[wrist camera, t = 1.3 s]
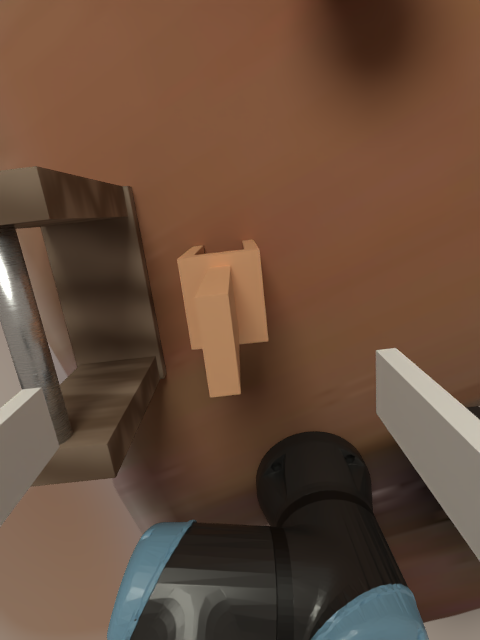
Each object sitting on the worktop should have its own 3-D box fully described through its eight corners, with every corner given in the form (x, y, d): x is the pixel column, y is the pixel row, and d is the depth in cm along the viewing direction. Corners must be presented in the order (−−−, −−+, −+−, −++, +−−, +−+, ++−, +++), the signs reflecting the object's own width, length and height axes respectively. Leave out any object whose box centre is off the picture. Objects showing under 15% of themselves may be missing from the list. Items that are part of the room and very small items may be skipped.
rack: (166, 373, 45) (122, 476, 27) (87, 381, 45) (-8, 490, 28) (131, 186, 39) (44, 165, 21) (39, 198, 39) (-122, 185, 21)
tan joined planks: (259, 307, 43) (285, 404, 21) (202, 314, 43) (170, 417, 21) (252, 239, 41) (272, 269, 19) (192, 246, 41) (145, 284, 19)
